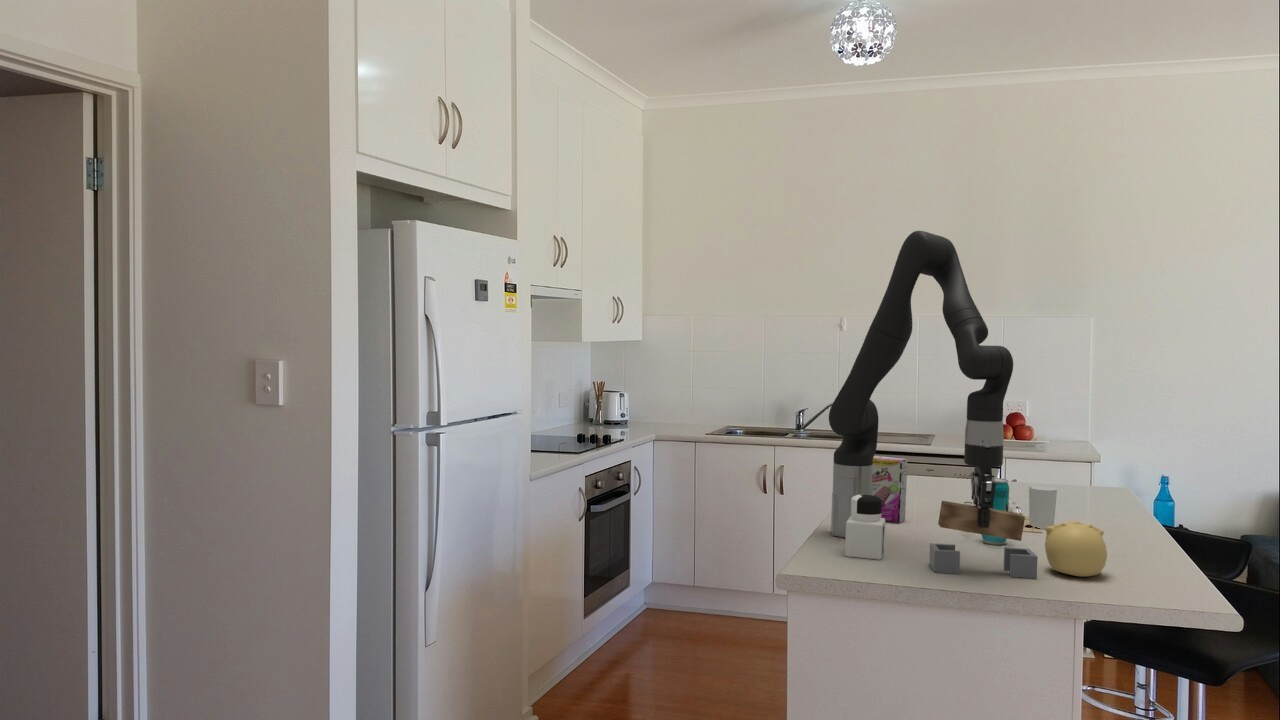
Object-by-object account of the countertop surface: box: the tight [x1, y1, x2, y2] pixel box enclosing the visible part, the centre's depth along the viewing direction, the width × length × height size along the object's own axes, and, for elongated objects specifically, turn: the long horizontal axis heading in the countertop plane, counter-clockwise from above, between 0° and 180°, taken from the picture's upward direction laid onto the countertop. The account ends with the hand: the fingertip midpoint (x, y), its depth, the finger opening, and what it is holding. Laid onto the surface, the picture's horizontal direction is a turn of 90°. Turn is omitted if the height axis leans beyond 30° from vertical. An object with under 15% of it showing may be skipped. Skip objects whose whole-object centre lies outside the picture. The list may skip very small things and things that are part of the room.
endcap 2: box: [1003, 547, 1038, 579], centre depth 198 cm, size 5×7×4 cm
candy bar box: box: [872, 455, 908, 524], centre depth 251 cm, size 11×5×16 cm, turn 58°
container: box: [844, 495, 886, 561], centre depth 211 cm, size 8×8×13 cm
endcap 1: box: [929, 542, 961, 575], centre depth 200 cm, size 5×7×4 cm
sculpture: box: [1044, 520, 1108, 577], centre depth 199 cm, size 11×12×11 cm
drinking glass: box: [1028, 485, 1058, 530], centre depth 246 cm, size 7×7×10 cm
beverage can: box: [981, 477, 1010, 546], centre depth 226 cm, size 6×6×15 cm
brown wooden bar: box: [937, 500, 1026, 542], centre depth 199 cm, size 16×4×5 cm, turn 81°
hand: (981, 524), depth 199 cm, fingers closed on brown wooden bar, 3 cm apart
